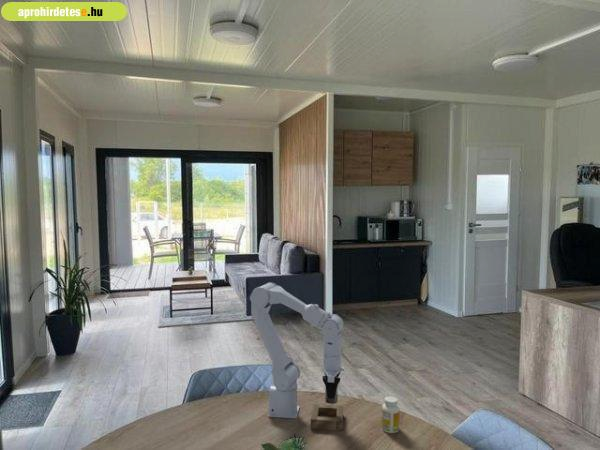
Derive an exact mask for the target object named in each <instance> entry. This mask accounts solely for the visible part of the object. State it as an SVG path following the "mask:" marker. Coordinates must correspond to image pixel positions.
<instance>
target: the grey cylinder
mask: <svg viewBox="0 0 600 450" xmlns="http://www.w3.org/2000/svg"><path fill="white" fill-rule="evenodd" d="M326 376H327V375H326ZM335 377H336V378H339V377H338V376H337V375H336V376H335ZM338 387H339V385H338V386H337V389H336V394H335V398H334V399H330V398H328V397H327V391H326V387H324V389H325V392H324V393H325V395H324V398H325V399H324V400H325V403H326V404H328V405H334V404H337V403H338V393H339V389H338Z"/></svg>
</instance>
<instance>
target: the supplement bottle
mask: <svg viewBox="0 0 600 450" xmlns="http://www.w3.org/2000/svg"><path fill="white" fill-rule="evenodd" d="M400 410H401V409H400V406H399V405H398V398H397V397H394V396H391V395H390V396H386V397H384V403H383V404H382V405H381V429H382V430H383V431H384V432H386V433H388V434H396V433H398V432H399V431H400Z"/></svg>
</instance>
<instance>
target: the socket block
mask: <svg viewBox="0 0 600 450" xmlns="http://www.w3.org/2000/svg"><path fill="white" fill-rule="evenodd" d="M311 410H312V411H311V415H310V429H315V430H325V431H327V430H328V431H339V432H340V431H341V432H342V431H343V426H344V423H343V422H344V420H343V419H344V406H343V405H334V404H320V403H313V404H312V408H311Z"/></svg>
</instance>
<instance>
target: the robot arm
mask: <svg viewBox="0 0 600 450" xmlns="http://www.w3.org/2000/svg"><path fill="white" fill-rule="evenodd" d="M249 300H250V303H251V305H250V307H251V308H250V309H251V310H250V311H251V312H250V313H251V317H252V319H253V321H254V323H255V326H256V328H257V330H258V334H259V335H260V337H261V340H262V342H263V344H264V347H265V349H266V351H267V353H268V356H269V358H270V361H271V370H270V372H271V374H272V383H273V385H270V387H269V393H268V417H270V418H280V419H281V418H284V419H286V418H287V419H297V418H298V415H299V411H300V405H298V382H297V380H298V379H299V378H300V375H301V370H300V367H299V366H298V365H297V364H296V363H295V362H294V359H293V358H292V357H290V356H289V355H287V353H286V350H285V348H284V346H283V343H282V341H281V340H280V339H281V338H280V337H279V334H278V331H277V330H276V328H275V325H274V323H273V321H272V319H271V316H270V314H269V313H270V310H271V307H272V305H276V304H282V305H284V306H286V307H288V308H289V309H291V310H292V311H296V312H298V313H300V314H301V316H302V319H303V320H305V322H308V323H309V324H311V325H312V326H314V327H316V328H317V329H320V330H321V332H322V334H323V346H322V347H323V349H322V350H323V352H322V355H323V356H322V357H323V358H322V359H323V360H322V363H323V364H322V367H321V368H322V369H321V370H322V371H323V373H324V375H322V382H323V384H324V386H325V387H326V391H327V397H328V398H330V399H334V398H335V394H336V389H337V386H338V387H339V384H340V381H341V377H339V376H340V374H341V373H342V372H345V366H342V330H343V328H344V320H343V318H342V317H341V316H339V314H336V313H335V314H333V313H331V312H327V311H325V310H323V309H322V308H321V307H319V306H320V305H319V304H317V303H314V304H313V303H310V304H306V303H305V302H303V301H302V300H300V299H299V298H297V297H295V296H294V295H293V294H291V293H290V292H288V291H287V290H285V289H284V288H283V287H282V286H280V285H277V284H276V283H275V282H267V283H265V284H263V285H261V286H257V287H256V288H255V287H254V289H253V290H252V291H251V294H250V295H249ZM326 375H327V376H326ZM336 375H337V376H338V378H336V377H335V376H336ZM325 387H324V388H325Z"/></svg>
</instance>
